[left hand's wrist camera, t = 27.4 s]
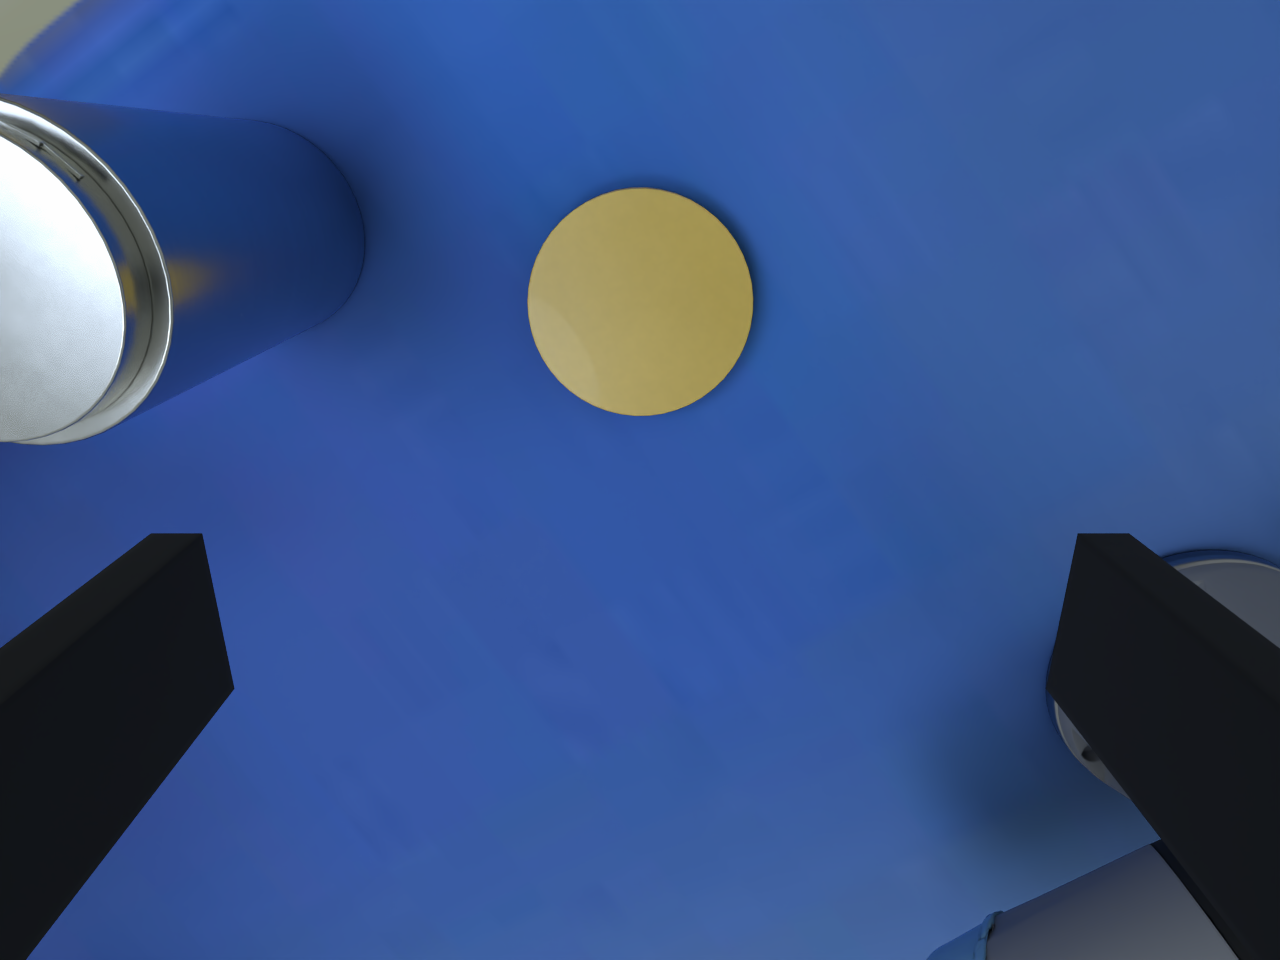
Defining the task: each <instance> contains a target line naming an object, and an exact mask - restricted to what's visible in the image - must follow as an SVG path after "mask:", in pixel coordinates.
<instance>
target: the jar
mask: <svg viewBox="0 0 1280 960" xmlns="http://www.w3.org/2000/svg"><path fill="white" fill-rule="evenodd" d="M364 248H365V239H364V228H363V223H362V217H361V214H360V210H359V207H358V204H357V201H356V199H355V197H354V195H353V193H352V190H351V188H350V187H349V185H348V183H347V182H346V180H345V178H344V177H343V175H342V174H341V172H340V171H339V170H338V169H337V167H336V166H335V165H334V163H333V162H332V161H331V160H330V159H329V158H328V157H327V156H326V155H325V154H324V153H323V152H322V151H321V150H319V149H318V148H317V147H316V146H314V145H313V144H312V143H311V142H309V141H308V140H306V139H304V138H303V137H301V136H300V135H298V134H296V133H294V132H292V131H290V130H288V129H286V128H283V127H280V126H277V125H274V124H271V123H266V122H260V121H254V120H244V119H235V118H226V117H216V116H207V115H197V114H188V113H178V112H169V111H159V110H150V109H141V108H131V107H122V106H112V105H103V104H93V103H84V102H74V101H65V100H56V99H46V98H37V97H27V96H18V95H8V94H0V442H13V443H19V444H31V445H53V444H66V443H70V442H75V441H80V440H84V439H87V438H90V437H93V436H95V435H98V434H101V433H103V432H105V431H107V430H109V429H111V428H113V427H115V426H117V425H119V424H121V423H123V422H125V421H127V420H129V419H131V418H133V417H135V416H137V415H139V414H141V413H143V412H145V411H147V410H149V409H151V408H153V407H155V406H157V405H159V404H161V403H163V402H165V401H167V400H169V399H171V398H173V397H175V396H177V395H179V394H181V393H183V392H185V391H187V390H189V389H191V388H193V387H194V386H196V385H198V384H200V383H202V382H204V381H206V380H208V379H210V378H212V377H214V376H216V375H218V374H220V373H222V372H224V371H226V370H228V369H230V368H232V367H234V366H236V365H238V364H240V363H242V362H244V361H246V360H248V359H250V358H252V357H254V356H256V355H258V354H260V353H262V352H264V351H266V350H268V349H270V348H272V347H274V346H276V345H278V344H280V343H282V342H284V341H286V340H288V339H289V338H291V337H293V336H295V335H297V334H299V333H301V332H303V331H305V330H307V329H309V328H311V327H313V326H315V325H317V324H319V323H321V322H322V321H324V320H326V319H327V318H329V317H330V316H331V315H333V314H334V313H335V312H336V311H337V310H338V309H339V308H340V307H341V306H342V305H343V304H344V303H345V302H346V300H347V299H348V297H349V296H350V295H351V293H352V291H353V289H354V287H355V285H356V284H357V281H358V278H359V276H360V273H361V270H362V265H363V259H364Z"/></svg>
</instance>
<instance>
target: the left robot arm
mask: <svg viewBox="0 0 1280 960" xmlns="http://www.w3.org/2000/svg"><path fill="white" fill-rule="evenodd" d="M233 690H234V685H233V680H232V675H231V670H230V665H229V661H228V656H227V651H226V646H225V641H224V637H223V632H222V627H221V622H220V617H219V612H218V608H217V603H216V598H215V593H214V588H213V583H212V579H211V574H210V569H209V564H208V559H207V554H206V550H205V545H204V540H203V535H202V534H150V535H148V536H147V537H146V538H144V539H143V540H142V541H141V542H139V543H138V544H137V545H135V546H134V547H133V548H131V549H130V550H129V551H127V552H126V553H125V554H123V555H122V556H121V557H120V558H118V559H117V560H116V561H114V562H113V563H112V564H110V565H109V566H108V567H106V568H105V569H104V570H102V571H101V572H100V573H98V574H97V575H96V576H95V577H93V578H92V579H91V580H89V581H88V582H87V583H85V584H84V585H83V586H81V587H80V588H79V589H77V590H76V591H75V592H74V593H72V594H71V595H70V596H68V597H67V598H66V599H64V600H63V601H62V602H60V603H59V604H58V605H56V606H55V607H54V608H53V609H51V610H50V611H49V612H47V613H46V614H45V615H43V616H42V617H41V618H39V619H38V620H37V621H35V622H34V623H33V624H31V625H30V626H29V627H28V628H26V629H25V630H24V631H22V632H21V633H20V634H18V635H17V636H16V637H14V638H13V639H12V640H10V641H9V642H8V643H7V644H5V645H4V646H3V647H1V648H0V960H26V959H27V958H28V956H29V955H30V954H31V952H32V951H33V950H34V948H35V947H36V946H37V945H38V943H39V942H40V941H41V939H42V938H43V937H44V935H45V934H46V933H47V932H48V930H49V929H50V928H51V926H52V925H53V924H54V922H55V921H56V920H57V919H58V917H59V916H60V915H61V913H62V912H63V911H64V909H65V908H66V907H67V906H68V904H69V903H70V902H71V900H72V899H73V898H74V896H75V895H76V894H77V893H78V891H79V890H80V889H81V887H82V886H83V885H84V883H85V882H86V881H87V880H88V878H89V877H90V876H91V874H92V873H93V872H94V870H95V869H96V868H97V867H98V865H99V864H100V863H101V861H102V860H103V859H104V857H105V856H106V855H107V854H108V852H109V851H110V850H111V848H112V847H113V846H114V844H115V843H116V842H117V841H118V839H119V838H120V837H121V835H122V834H123V833H124V831H125V830H126V829H127V828H128V826H129V825H130V824H131V822H132V821H133V820H134V818H135V817H136V816H137V815H138V813H139V812H140V811H141V809H142V808H143V807H144V805H145V804H146V803H147V802H148V800H149V799H150V798H151V796H152V795H153V794H154V792H155V791H156V790H157V789H158V787H159V786H160V785H161V783H162V782H163V781H164V779H165V778H166V777H167V776H168V774H169V773H170V772H171V770H172V769H173V768H174V766H175V765H176V764H177V763H178V761H179V760H180V759H181V757H182V756H183V755H184V753H185V752H186V751H187V750H188V748H189V747H190V746H191V744H192V743H193V742H194V740H195V739H196V738H197V737H198V735H199V734H200V733H201V731H202V730H203V729H204V727H205V726H206V725H207V724H208V722H209V721H210V720H211V718H212V717H213V716H214V714H215V713H216V712H217V711H218V709H219V708H220V707H221V705H222V704H223V703H224V701H225V700H226V699H227V698H228V696H229V695H230V694H231V692H232V691H233ZM1046 700H1047V707H1048V711H1049V715H1050V717H1051V720H1052V723H1053V725H1054V727H1055V729H1056V731H1057V732H1058V734H1059V735H1060V737H1061V738H1062V740H1063V741H1064V742H1065V744H1066V745H1067V747H1068V748H1069V749H1070V751H1071V752H1072V753H1073V755H1074V756H1075V757H1076V758H1077V759H1078V760H1079V762H1080V763H1081V764H1083V765H1084V766H1085V767H1086V768H1087V769H1088V770H1089V771H1090V772H1091V773H1092V774H1093V775H1095V776H1096V777H1097V778H1098V779H1100V780H1101V781H1102V782H1104V783H1105V784H1107V785H1109V786H1110V787H1112V788H1113V789H1115V790H1116V791H1118V792H1119V793H1121V794H1122V795H1124V796H1125V797H1127V798H1129V799H1130V800H1132V802H1133V803H1134V804H1135V805H1136V807H1137V808H1138V809H1139V811H1140V812H1141V813H1142V815H1143V816H1144V817H1145V818H1146V820H1147V821H1148V822H1149V824H1150V825H1151V826H1152V828H1153V829H1154V830H1155V831H1156V833H1157V834H1158V835H1159V837H1160V838H1161V839H1160V840H1158V841H1156V842H1154V843H1151V844H1148V845H1146V846H1144V847H1142V848H1140V849H1138V850H1136V851H1134V852H1131V853H1129V854H1127V855H1125V856H1123V857H1121V858H1119V859H1117V860H1115V861H1113V862H1111V863H1108V864H1106V865H1104V866H1102V867H1100V868H1098V869H1096V870H1094V871H1092V872H1090V873H1087V874H1085V875H1083V876H1081V877H1079V878H1077V879H1075V880H1073V881H1071V882H1069V883H1066V884H1064V885H1062V886H1060V887H1058V888H1056V889H1054V890H1052V891H1050V892H1048V893H1046V894H1043V895H1041V896H1039V897H1037V898H1035V899H1032V900H1030V901H1028V902H1026V903H1024V904H1021V905H1019V906H1017V907H1015V908H1012V909H1010V910H1008V911H1006V912H1003V911H998V912H994V913H992V914H989V915H988V916H987V917H986V918H985V920H984V921H983V923H982V924H980V925H978V926H977V927H975V928H973V929H971V930H970V931H968V932H966V933H964V934H963V935H961V936H959V937H957V938H956V939H954V940H952V941H950V942H948V943H946V944H944V945H942V946H941V947H939V948H938V949H936V950H935V951H934V952H933V953H932V954H931V955H930V956H929V957H928V958H927V960H1280V568H1279V567H1278V566H1276V565H1275V564H1273V563H1270V562H1268V561H1266V560H1264V559H1261V558H1258V557H1256V556H1253V555H1249V554H1244V553H1240V552H1233V551H1222V550H1206V551H1194V552H1187V553H1181V554H1177V555H1172V556H1168V557H1165V558H1160V557H1159V556H1158V555H1157V554H1155V553H1154V552H1153V551H1151V550H1150V549H1149V548H1147V547H1146V546H1145V545H1143V544H1142V543H1141V542H1139V541H1138V540H1137V539H1136V538H1134V537H1133V536H1132V535H1130V534H1078V535H1077V540H1076V545H1075V550H1074V554H1073V559H1072V564H1071V569H1070V574H1069V579H1068V583H1067V588H1066V593H1065V598H1064V603H1063V608H1062V612H1061V617H1060V622H1059V627H1058V632H1057V637H1056V641H1055V646H1054V651H1053V654H1052V657H1051V660H1050V664H1049V668H1048V672H1047V679H1046Z"/></svg>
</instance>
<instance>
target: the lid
mask: <svg viewBox="0 0 1280 960" xmlns="http://www.w3.org/2000/svg"><path fill="white" fill-rule="evenodd" d="M527 302H528V317H529V322H530V327H531V332H532V335H533V338H534V341H535V344H536V346H537V348H538V351H539V353H540V355H541V357H542V359H543V360H544V362H545V363H546V365H547V366H548V368H549V369H550V371H551V372H552V373H553V374H554V376H555V377H556V378H557V379H558V380H559V381H560V382H561V383H562V384H563V385H564V386H565V387H566V388H567V389H568V390H569V391H571V392H572V393H573V394H575V395H576V396H578V397H579V398H581V399H582V400H584V401H586V402H588V403H590V404H591V405H593V406H596V407H598V408H601V409H604V410H606V411H610V412H614V413H618V414H624V415H633V416H649V415H656V414H663V413H667V412H671V411H674V410H677V409H680V408H682V407H685V406H687V405H690V404H691V403H693V402H695V401H697V400H698V399H700V398H702V397H703V396H705V395H706V394H707V393H709V392H710V391H711V390H713V389H714V388H715V387H716V386H717V385H718V384H719V383H720V382H721V381H722V380H723V379H724V378H725V377H726V375H727V374H728V373H729V372H730V370H731V369H732V368H733V366H734V365H735V363H736V361H737V360H738V358H739V356H740V355H741V352H742V350H743V348H744V346H745V343H746V341H747V337H748V334H749V331H750V327H751V321H752V315H753V291H752V282H751V278H750V274H749V269H748V266H747V264H746V261H745V258H744V256H743V253H742V252H741V250H740V248H739V246H738V244H737V242H736V241H735V239H734V238H733V236H732V235H731V234H730V232H729V231H728V230H727V228H726V227H725V226H724V225H723V224H722V223H721V222H720V221H719V220H718V219H717V218H716V217H715V216H714V215H712V214H711V213H710V212H709V211H707V210H706V209H705V208H704V207H702V206H701V205H699V204H697V203H696V202H694V201H692V200H691V199H689V198H686V197H684V196H682V195H679V194H677V193H674V192H670V191H666V190H663V189H657V188H649V187H631V188H624V189H618V190H614V191H611V192H607V193H604V194H601V195H599V196H597V197H595V198H592V199H590V200H588V201H587V202H585V203H584V204H582V205H580V206H579V207H577V208H576V209H574V210H573V211H572V212H571V213H570V214H568V215H567V216H566V217H565V218H564V219H563V220H561V222H560V223H559V224H558V225H557V226H556V227H555V228H554V229H553V231H552V232H551V233H550V235H549V236H548V238H547V239H546V241H545V242H544V244H543V245H542V247H541V249H540V251H539V253H538V255H537V257H536V260H535V263H534V266H533V269H532V272H531V277H530V282H529V287H528V301H527Z"/></svg>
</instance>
